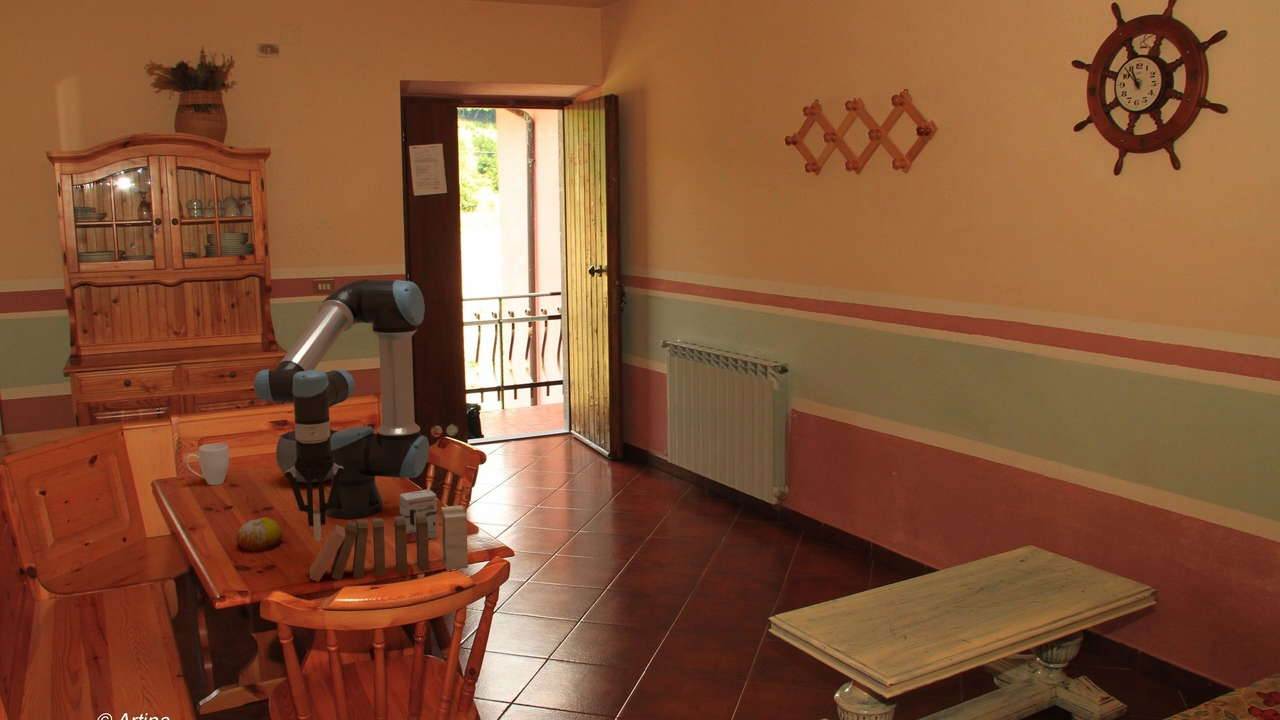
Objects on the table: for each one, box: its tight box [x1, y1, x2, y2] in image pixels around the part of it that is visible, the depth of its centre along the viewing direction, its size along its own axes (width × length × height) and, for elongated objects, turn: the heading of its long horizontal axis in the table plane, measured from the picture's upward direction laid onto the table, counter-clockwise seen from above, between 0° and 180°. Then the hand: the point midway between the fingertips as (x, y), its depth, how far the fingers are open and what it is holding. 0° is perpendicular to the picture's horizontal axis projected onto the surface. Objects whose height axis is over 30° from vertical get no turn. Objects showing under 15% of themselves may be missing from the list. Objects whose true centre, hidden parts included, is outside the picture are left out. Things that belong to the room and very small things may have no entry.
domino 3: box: [352, 518, 369, 579], centre depth 231 cm, size 6×2×12 cm, turn 18°
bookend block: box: [440, 504, 469, 571], centre depth 238 cm, size 8×5×13 cm, turn 18°
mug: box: [185, 442, 230, 486], centre depth 298 cm, size 12×8×11 cm
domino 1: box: [309, 524, 346, 583], centre depth 229 cm, size 6×2×12 cm
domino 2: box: [330, 520, 358, 580], centre depth 230 cm, size 6×2×12 cm, turn 18°
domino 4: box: [372, 517, 387, 577], centre depth 233 cm, size 6×2×12 cm, turn 18°
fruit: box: [235, 516, 283, 553], centre depth 249 cm, size 11×10×8 cm
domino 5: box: [393, 515, 408, 575], centre depth 234 cm, size 6×2×12 cm, turn 18°
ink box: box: [399, 488, 438, 543], centre depth 255 cm, size 8×5×12 cm, turn 123°
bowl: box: [275, 428, 339, 484], centre depth 302 cm, size 20×20×15 cm
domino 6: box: [415, 514, 430, 572], centre depth 236 cm, size 6×2×12 cm, turn 18°
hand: (317, 538), depth 228 cm, fingers closed
